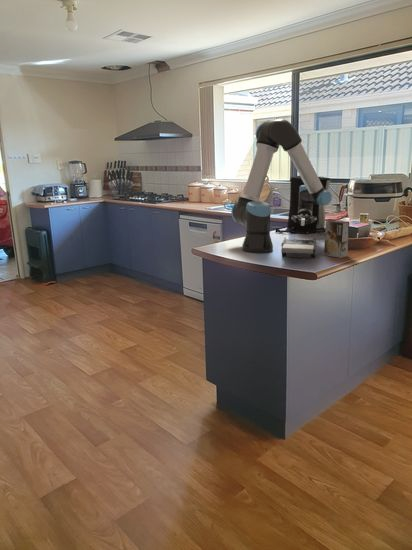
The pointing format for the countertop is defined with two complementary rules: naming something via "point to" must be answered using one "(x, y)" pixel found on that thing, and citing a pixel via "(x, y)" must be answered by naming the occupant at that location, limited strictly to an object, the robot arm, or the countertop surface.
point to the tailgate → (297, 248)
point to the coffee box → (336, 238)
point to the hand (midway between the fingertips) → (302, 222)
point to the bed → (300, 242)
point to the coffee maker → (316, 209)
